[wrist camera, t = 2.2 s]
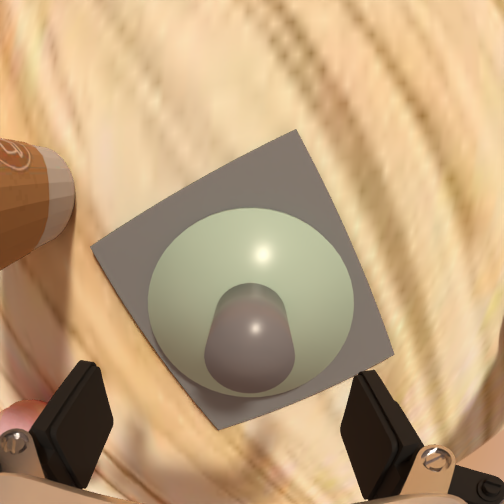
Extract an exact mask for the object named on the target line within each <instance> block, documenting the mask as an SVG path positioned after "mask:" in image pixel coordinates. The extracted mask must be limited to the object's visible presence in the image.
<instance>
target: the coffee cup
mask: <svg viewBox="0 0 504 504" xmlns="http://www.w3.org/2000/svg"><path fill="white" fill-rule="evenodd" d="M74 200H75V187H74V180H73V177H72V174H71V171H70V169H69V168H68V166H67V164H66V163H65V162H64V160H63V159H62V158H61V157H60V156H59V155H58V154H57V153H56V152H55V151H53V150H50V149H48V148H45V147H40V146H34V145H29V144H27V143H25V142H20V141H14V140H8V139H2V138H0V270H2V269H3V268H5V267H7V266H9V265H10V264H12V263H14V262H15V261H17V260H19V259H20V258H22V257H24V256H26V255H27V254H29V253H30V252H31V251H32V250H34V249H36V248H38V247H39V246H41V245H43V244H45V243H47V242H49V241H51V240H52V239H54V238H56V237H57V236H58V235H59V234H60V233H61V232H62V231H63V230H64V228H65V226H66V224H67V223H68V221H69V218H70V217H71V214H72V210H73V207H74Z"/></svg>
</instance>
